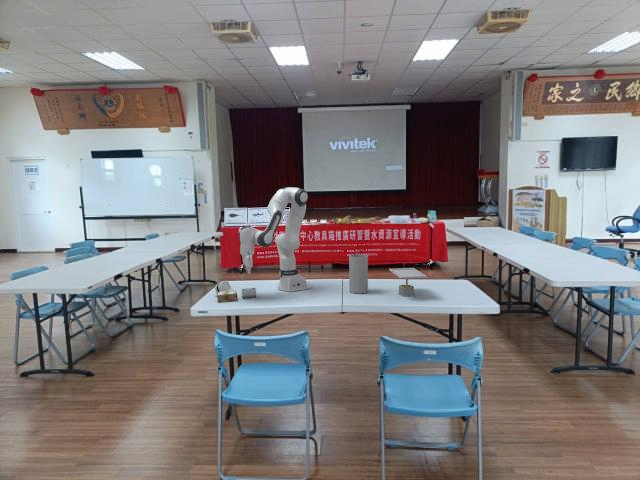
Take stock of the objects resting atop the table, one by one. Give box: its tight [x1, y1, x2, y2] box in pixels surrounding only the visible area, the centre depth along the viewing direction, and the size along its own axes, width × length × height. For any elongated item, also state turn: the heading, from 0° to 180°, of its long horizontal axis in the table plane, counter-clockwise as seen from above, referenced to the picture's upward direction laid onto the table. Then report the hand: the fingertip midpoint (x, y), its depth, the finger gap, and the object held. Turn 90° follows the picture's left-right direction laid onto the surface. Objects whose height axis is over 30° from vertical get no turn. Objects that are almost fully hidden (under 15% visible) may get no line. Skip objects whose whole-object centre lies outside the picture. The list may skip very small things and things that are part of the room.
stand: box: [216, 289, 239, 303], centre depth 279 cm, size 12×8×5 cm, turn 107°
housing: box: [240, 287, 257, 300], centre depth 284 cm, size 9×5×6 cm, turn 107°
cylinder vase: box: [348, 253, 369, 295], centre depth 293 cm, size 12×12×25 cm
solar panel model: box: [388, 267, 428, 298], centre depth 285 cm, size 28×17×15 cm, turn 5°
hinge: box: [214, 280, 234, 294], centre depth 294 cm, size 17×5×10 cm, turn 169°
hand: (248, 272), depth 282 cm, fingers open, 8 cm apart
